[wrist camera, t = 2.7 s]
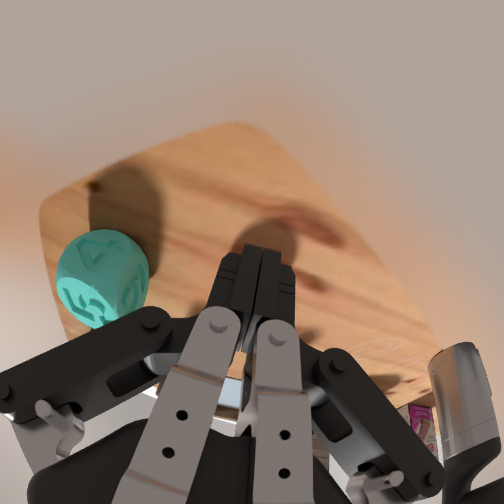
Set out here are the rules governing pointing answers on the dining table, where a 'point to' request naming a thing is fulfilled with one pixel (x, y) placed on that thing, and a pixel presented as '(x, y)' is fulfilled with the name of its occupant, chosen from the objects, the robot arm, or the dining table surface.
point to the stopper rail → (226, 413)
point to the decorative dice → (102, 277)
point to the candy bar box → (421, 424)
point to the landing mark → (230, 393)
